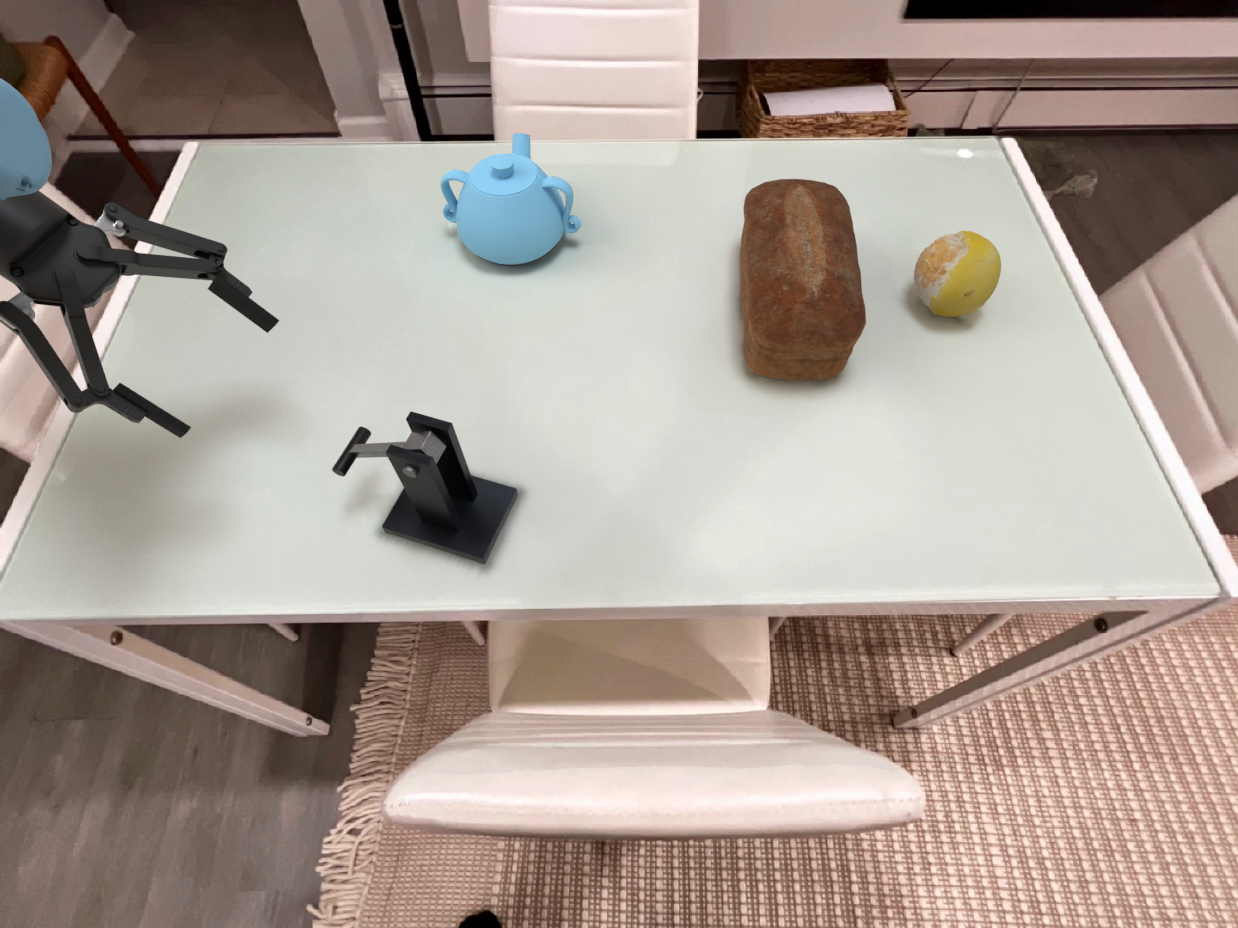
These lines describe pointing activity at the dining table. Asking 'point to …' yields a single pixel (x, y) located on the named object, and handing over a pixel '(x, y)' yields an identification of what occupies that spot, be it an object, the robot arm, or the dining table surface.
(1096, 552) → the dining table surface
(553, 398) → the dining table surface
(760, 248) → the bread
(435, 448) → the lever
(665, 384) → the dining table surface
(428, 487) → the bracket
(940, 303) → the fruit
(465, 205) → the teapot
